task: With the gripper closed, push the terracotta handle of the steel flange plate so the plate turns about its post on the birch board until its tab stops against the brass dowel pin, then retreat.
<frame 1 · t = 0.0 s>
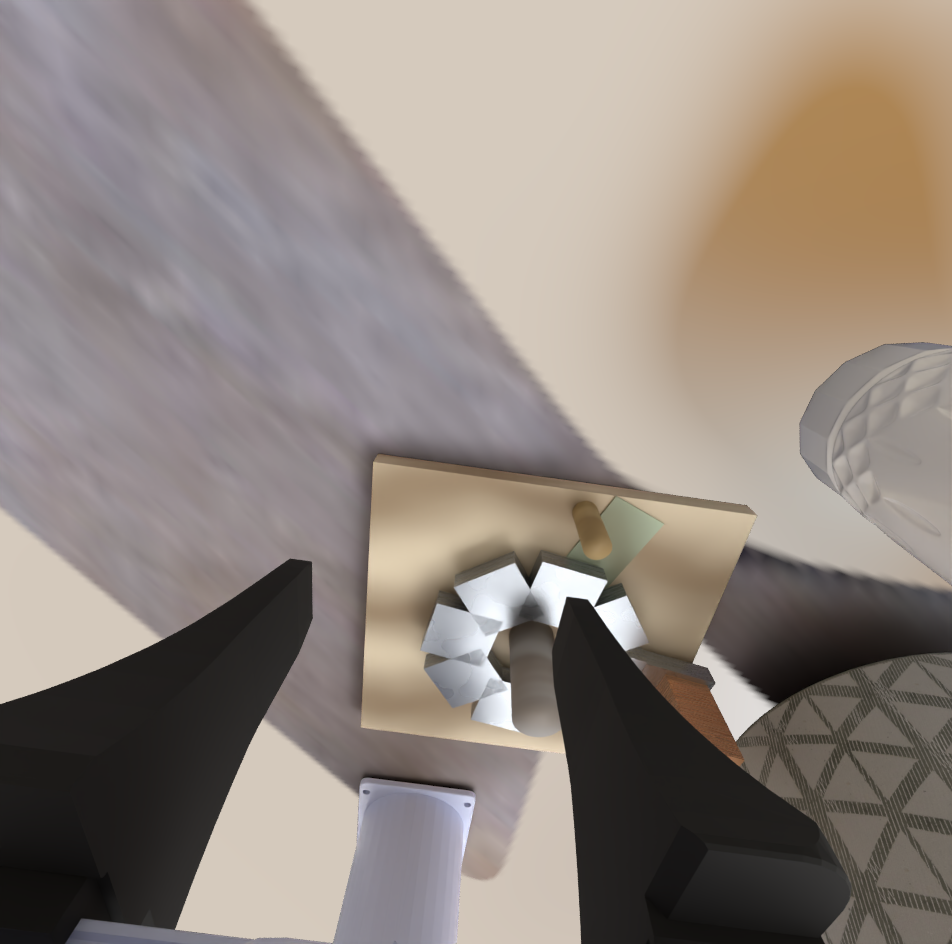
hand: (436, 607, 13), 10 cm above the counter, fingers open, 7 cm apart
post board: (530, 623, 26), on the counter
planter: (851, 728, 29), on the counter
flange: (572, 690, 23), point 4 cm above the counter, hinge at 0.0°
white cup: (873, 417, 21), on the counter
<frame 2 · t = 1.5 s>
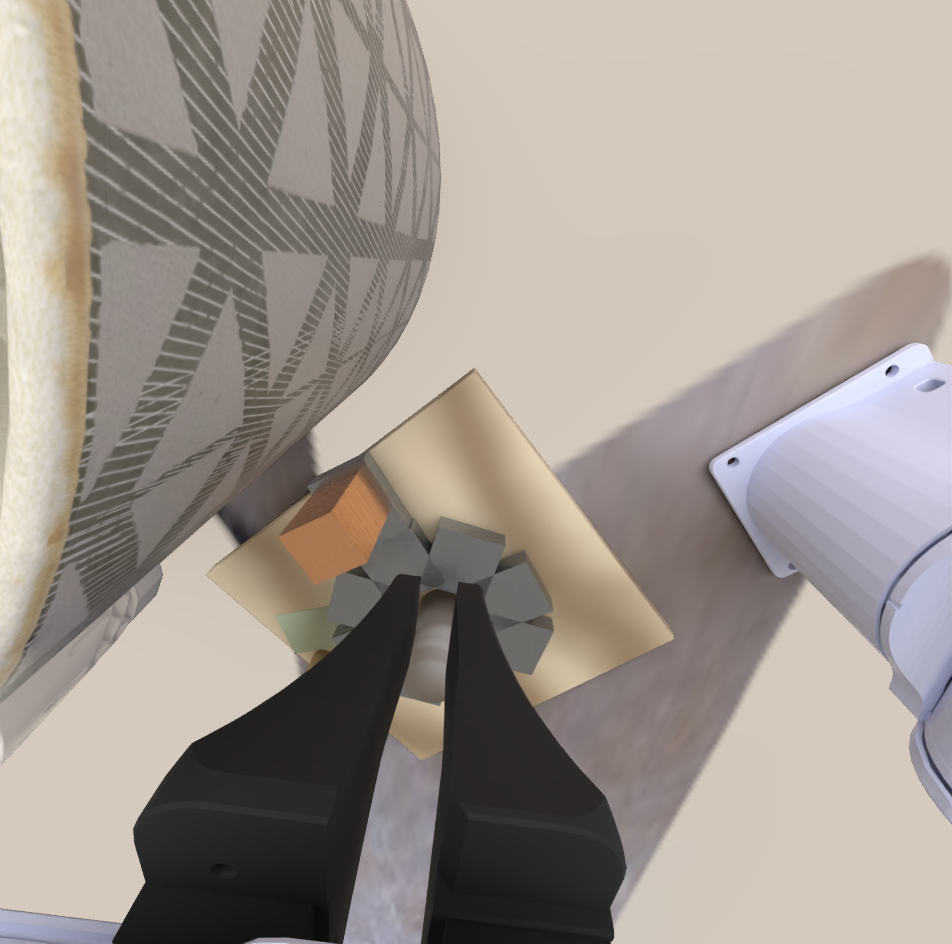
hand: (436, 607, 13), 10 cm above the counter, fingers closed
post board: (444, 594, 26), on the counter
planter: (210, 183, 18), on the counter
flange: (415, 618, 22), point 4 cm above the counter, hinge at 0.0°
white cup: (106, 556, 26), on the counter
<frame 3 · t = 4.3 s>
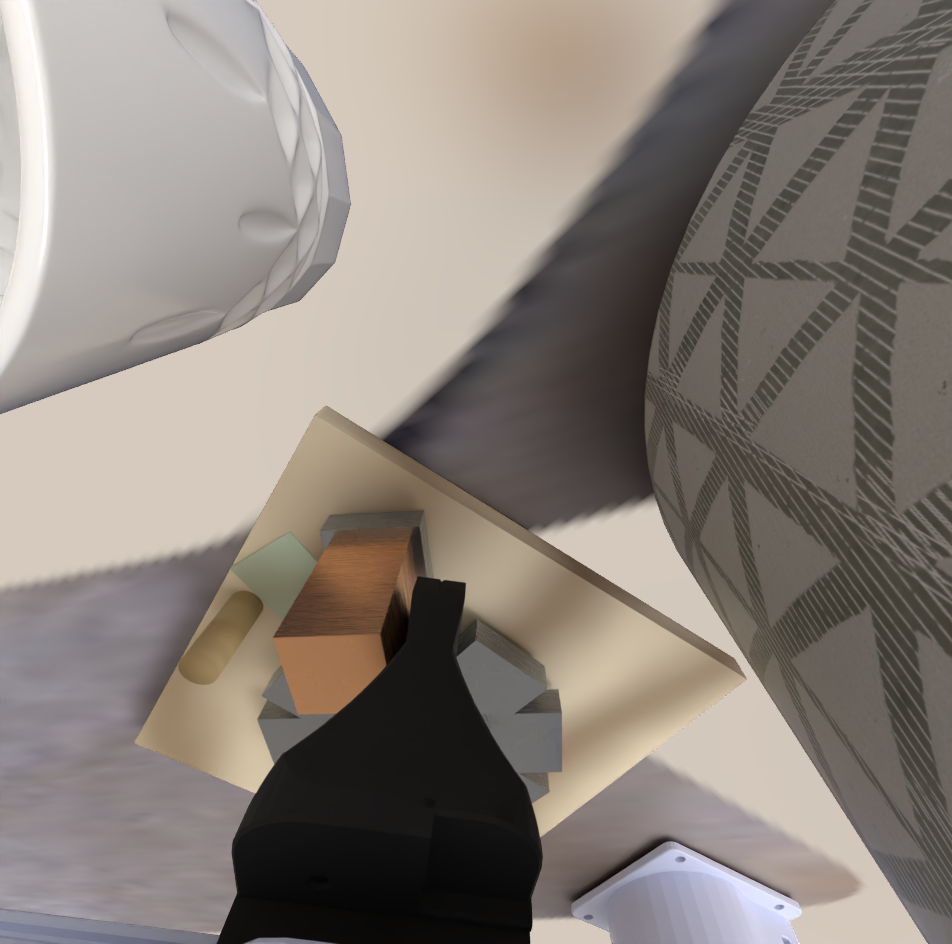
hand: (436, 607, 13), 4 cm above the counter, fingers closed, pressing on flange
post board: (421, 692, 20), on the counter
planter: (946, 339, 13), on the counter
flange: (396, 749, 15), point 4 cm above the counter, hinge at 48.6°, touching gripper
white cup: (229, 180, 12), on the counter
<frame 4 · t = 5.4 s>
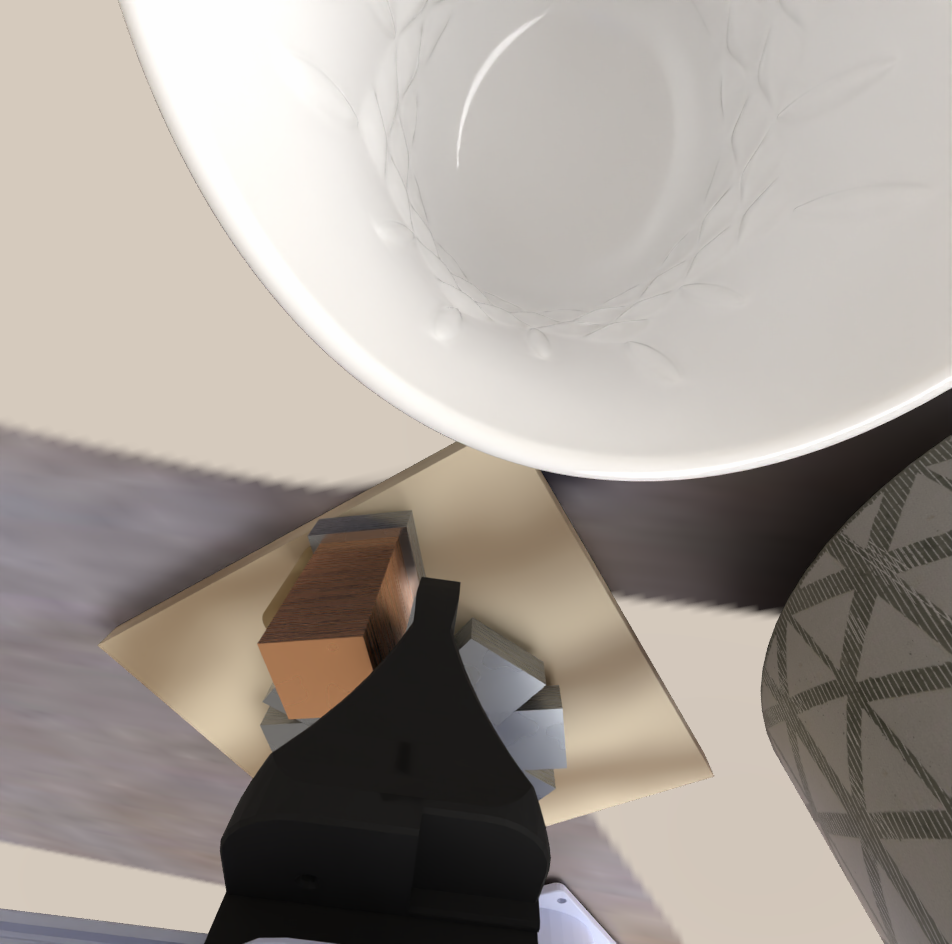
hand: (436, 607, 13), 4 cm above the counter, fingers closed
post board: (423, 693, 20), on the counter
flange: (397, 750, 15), point 4 cm above the counter, hinge at 76.8°, touching gripper, post board
white cup: (549, 176, 12), on the counter
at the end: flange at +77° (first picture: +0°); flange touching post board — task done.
